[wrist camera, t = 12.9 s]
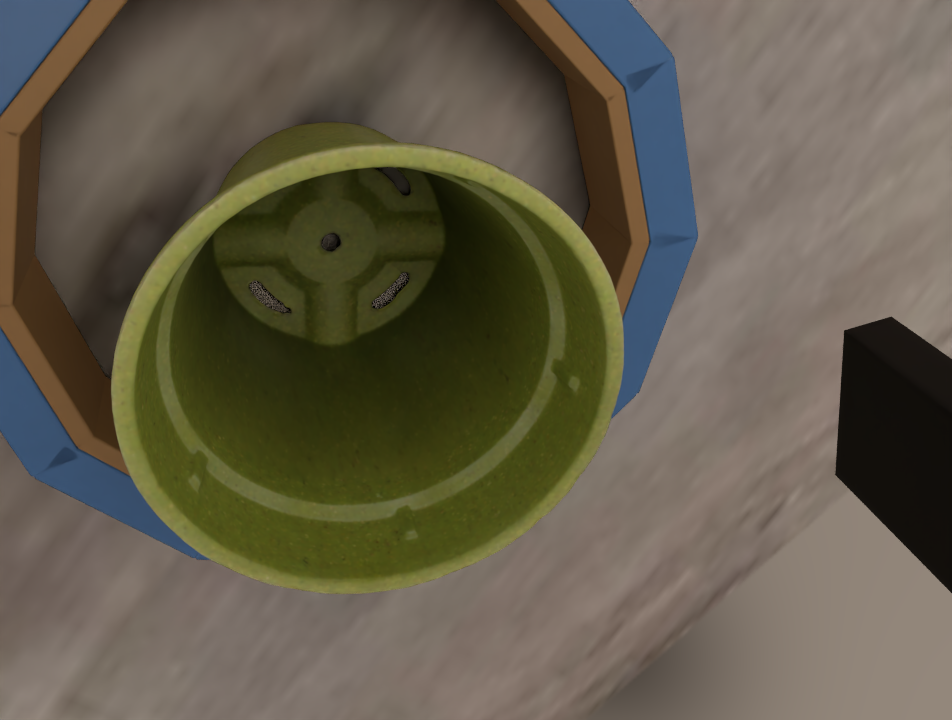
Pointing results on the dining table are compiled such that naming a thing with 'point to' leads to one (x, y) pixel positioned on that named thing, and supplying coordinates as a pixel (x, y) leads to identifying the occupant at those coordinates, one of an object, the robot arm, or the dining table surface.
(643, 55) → the tape roll
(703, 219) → the dining table surface
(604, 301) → the plant pot
